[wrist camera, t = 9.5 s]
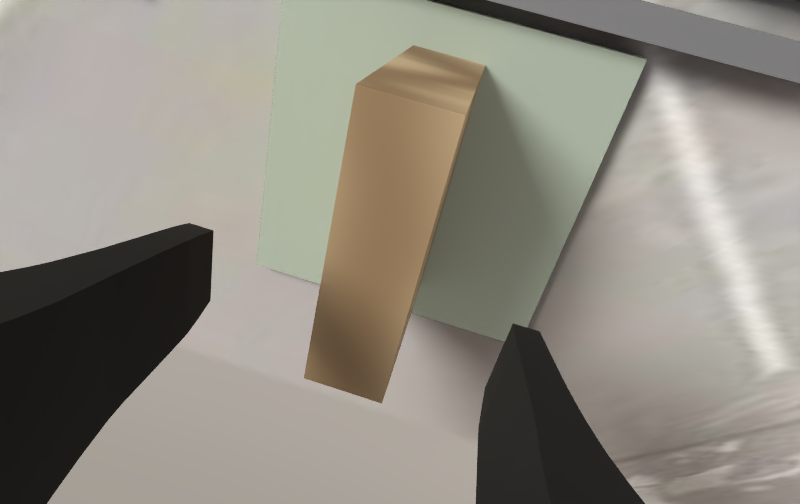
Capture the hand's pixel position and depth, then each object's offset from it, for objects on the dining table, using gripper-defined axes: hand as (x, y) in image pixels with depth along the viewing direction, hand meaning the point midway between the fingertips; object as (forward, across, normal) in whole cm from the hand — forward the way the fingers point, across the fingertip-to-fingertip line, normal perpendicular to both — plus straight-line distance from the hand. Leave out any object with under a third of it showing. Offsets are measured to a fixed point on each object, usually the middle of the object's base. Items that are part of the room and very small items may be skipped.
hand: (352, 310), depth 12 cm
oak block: (+9, 0, 0) cm, 9 cm away
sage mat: (+9, 0, 0) cm, 9 cm away
